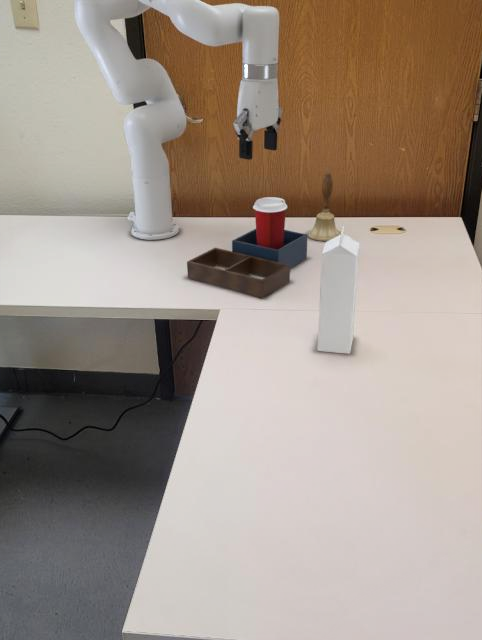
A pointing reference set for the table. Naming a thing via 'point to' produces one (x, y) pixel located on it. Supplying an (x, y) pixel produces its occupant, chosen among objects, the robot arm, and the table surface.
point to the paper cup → (270, 221)
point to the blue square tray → (288, 254)
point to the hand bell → (325, 215)
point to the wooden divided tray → (239, 272)
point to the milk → (338, 294)
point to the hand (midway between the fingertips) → (258, 153)
